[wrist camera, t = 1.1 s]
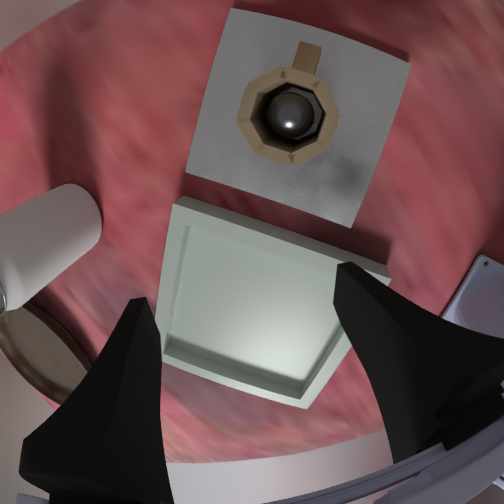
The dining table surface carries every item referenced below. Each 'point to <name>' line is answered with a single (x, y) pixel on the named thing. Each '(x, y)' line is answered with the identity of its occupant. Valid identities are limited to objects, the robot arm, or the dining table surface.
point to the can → (44, 241)
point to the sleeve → (275, 83)
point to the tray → (251, 303)
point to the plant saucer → (42, 352)
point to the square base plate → (298, 115)
